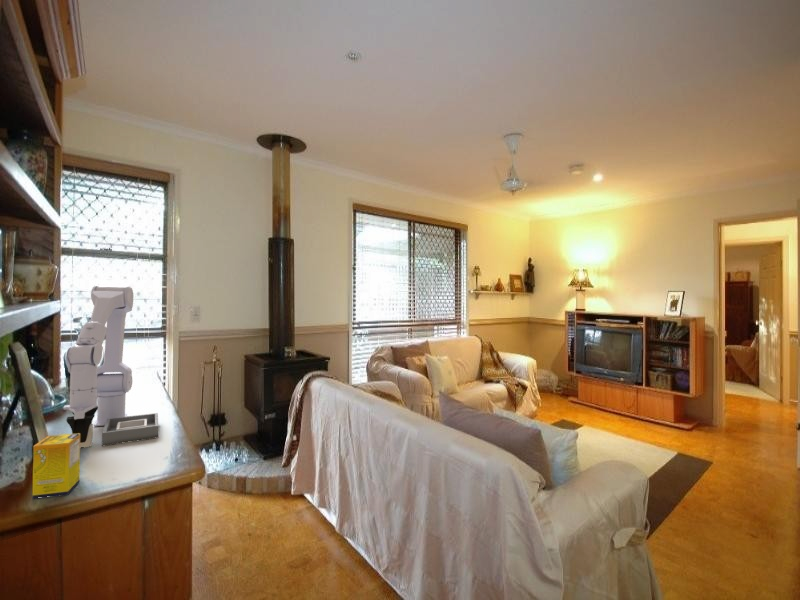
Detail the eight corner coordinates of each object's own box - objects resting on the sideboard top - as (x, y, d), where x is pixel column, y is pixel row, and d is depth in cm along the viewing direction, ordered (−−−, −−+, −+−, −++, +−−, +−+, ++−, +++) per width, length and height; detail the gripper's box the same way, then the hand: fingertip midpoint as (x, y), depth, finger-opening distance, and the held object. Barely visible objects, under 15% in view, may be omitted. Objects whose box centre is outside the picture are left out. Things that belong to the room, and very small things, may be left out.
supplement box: (45, 486, 83) (47, 435, 83) (80, 482, 85) (81, 432, 85) (30, 500, 77) (32, 445, 77) (67, 495, 79) (69, 442, 79)
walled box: (106, 430, 117) (107, 418, 117) (157, 423, 124) (157, 412, 124) (101, 445, 105) (102, 433, 105) (158, 437, 112) (158, 425, 112)
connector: (73, 444, 106) (74, 418, 106) (92, 441, 108) (93, 416, 108) (71, 449, 102) (72, 423, 102) (90, 446, 105) (91, 420, 105)
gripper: (69, 384, 109) (67, 432, 109) (59, 396, 97) (57, 450, 97) (100, 382, 113) (99, 428, 113) (94, 393, 101) (93, 445, 101)
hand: (82, 438), depth 105 cm, fingers open, 6 cm apart
